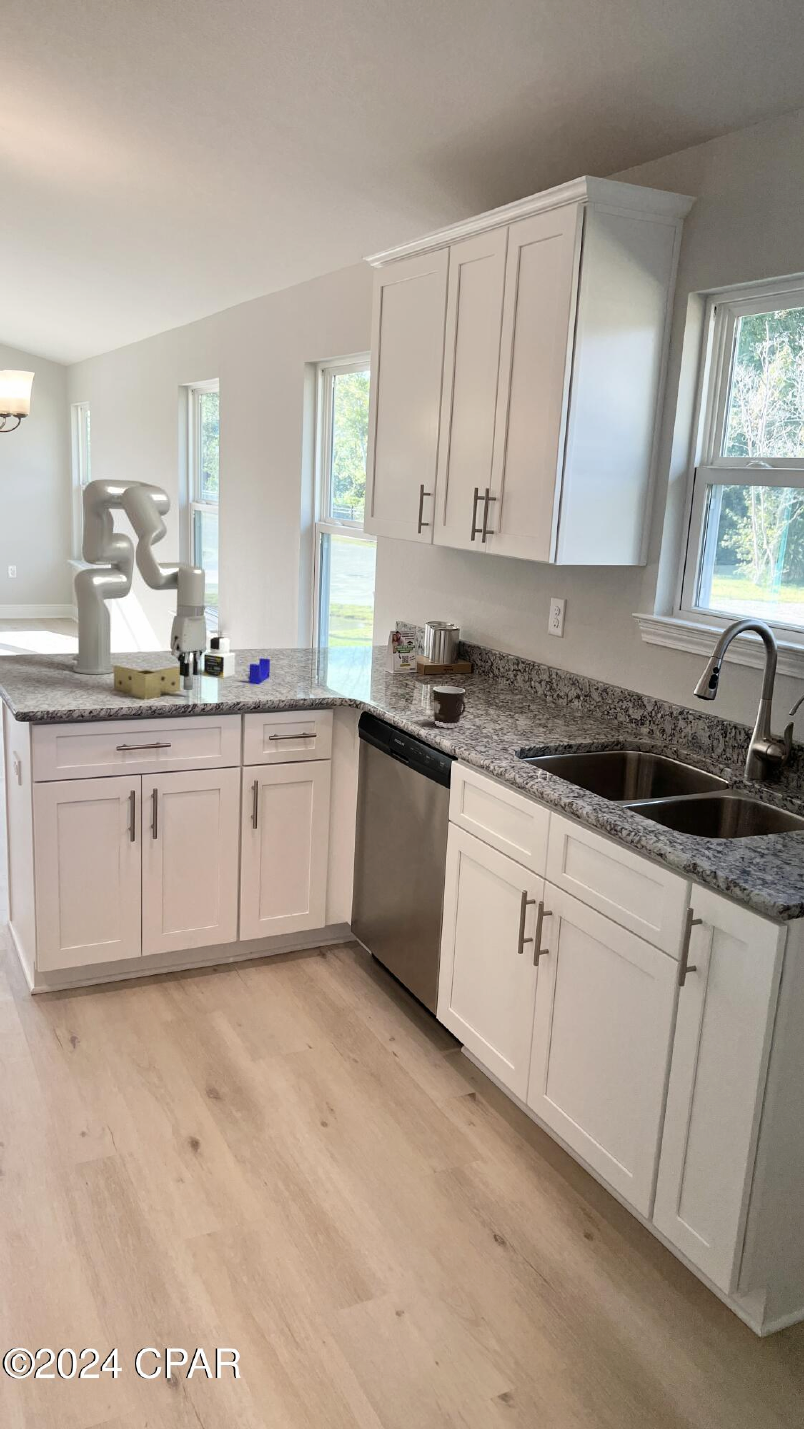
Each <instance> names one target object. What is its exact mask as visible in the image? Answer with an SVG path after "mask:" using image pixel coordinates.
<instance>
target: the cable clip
mask: <svg viewBox="0 0 804 1429" xmlns="http://www.w3.org/2000/svg"><path fill="white" fill-rule="evenodd" d="M258 663H259V664H256V663H250V664H249V674H248V676H249V679H248V681H249V682H248V683H249V684H250V685H260V684H261V683H262V682H264V681H266V680H267V679H269V678H270V674H271V672H270V669H271V668H270V666H271V659H270V658H264V657H263V658H262V657H261V658H259V661H258Z"/></svg>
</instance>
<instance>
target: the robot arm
mask: <svg viewBox="0 0 804 1429" xmlns="http://www.w3.org/2000/svg"><path fill="white" fill-rule="evenodd" d="M82 505H83V507H82V508H83V512H84V513H83V514H84V524H83V534H82V547H81V548H82V550H81V551H82V552H81V554H82V559H83V560H84V562H85V563H87V564H90V565H92V566H93V565H95V566H107V565H110V567H97V568H94V567H93V568H86V569H83V570H80V571H79V572H77V574H76V575H75V578H74V582H73V585H74V591H75V597H76V603H77V623H78V624H77V625H78V626H77V628H78V630H77V631H78V632H77V634H78V636H77V637H78V638H77V639H78V640H77V641H78V645H77V646H78V647H77V648H78V653H77V654H76V655H74V656H72V660H73V661H76V664H75V665H74V666H73V672H75V673H79V674H83V675H84V674H86V675H103V674H112V673H114V665H113V664H111V613H110V609H109V608H108V606H107V605H106V603H105V601H104V600H115V599H122V598H125V597H127V596H128V595H130V594H129V593H130V591H131V589H132V583H133V574H134V573H133V572H134V562H135V564H136V567H137V570H138V571H139V574H140V576H141V577H142V579H143V581H144V583H145V585H147V587H149V588H150V589H151V590H154V591H165V590H166V591H168V590H169V591H170V590H176V615H174V616H173V619H172V625H171V633H170V650H171V652H170V655H172V656H174V657H175V658H176V659H177V661H178V662H179V667H180V677H184V676H185V677H189V663H187V662H188V653H189V652H192V651H194V663H193V676H197V675H198V670H199V669H198V668H199V667H198V666H199V665H198V664H199V662H200V659H201V656H202V655H203V654H205V653H206V651H207V650H208V649H207V623H206V616H205V609H206V607H205V590H206V587H205V586H206V572H205V569H204V568H203V567H200V566H193V565H190V564H188V563H185V562H179V561H177V562H176V561H175V562H158V561H157V560H156V558H155V556H154V553H153V552H152V546H153V545H155V544H157V543H159V542H160V541H162V540H163V539H164V538H165V537H166V535H167V533H168V532H167V531H168V529H167V526H166V524H165V522H164V520H163V519H162V517H163V516H166V515H167V514H168V513H169V511H170V509H171V499H170V497H169V494H168V493H167V491H166V490H165V489H163V488H162V487H160V486H156V485H152V484H150V483H146V482H144V481H140V480H139V481H138V480H126V479H125V480H124V479H109V478H107V479H96V480H92V481H90V482H89V483H88V484H86V486H85V487H84V490H83V493H82ZM110 510H123V511H124V513H125V515H126V516H127V519H128V521H129V522H130V524H131V526H132V528H133V530H134V533H135V534H136V536H137V539H138V542H137V544H136V546H134V543H133V541H132V539H131V538H130V537H129V536H128V535H127V534H125V533H123V532H122V533H121V532H114V527H115V526H114V525H115V522H114V516H113V514H112V513H111V511H110ZM135 548H136V549H135Z"/></svg>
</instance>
